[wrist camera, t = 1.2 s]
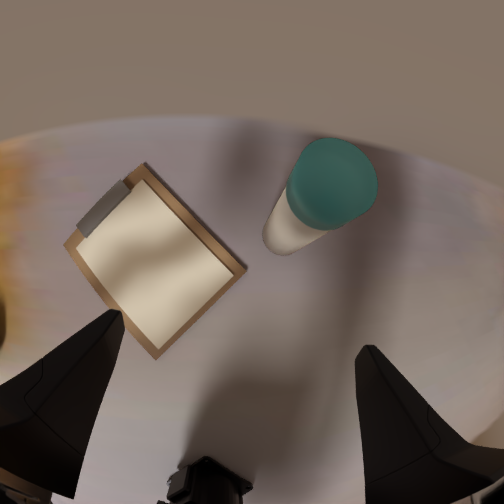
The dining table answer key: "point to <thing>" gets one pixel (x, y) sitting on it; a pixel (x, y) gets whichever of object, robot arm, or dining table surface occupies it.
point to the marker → (321, 195)
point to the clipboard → (151, 260)
